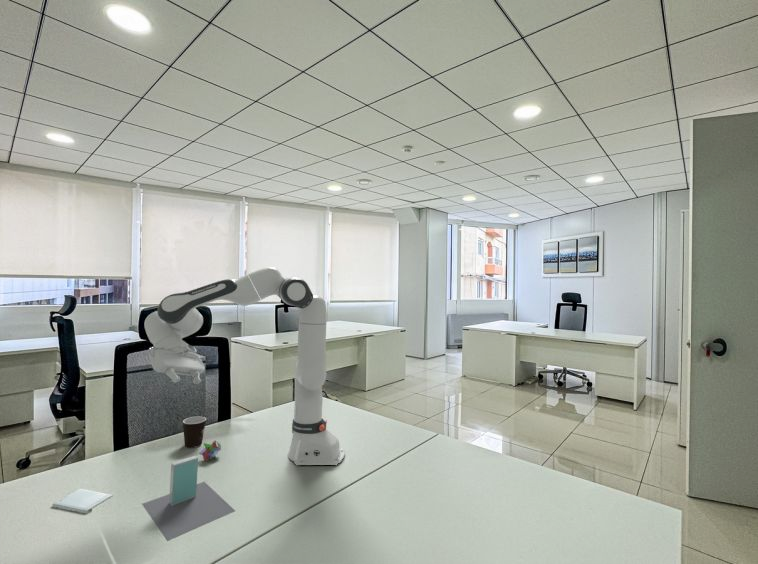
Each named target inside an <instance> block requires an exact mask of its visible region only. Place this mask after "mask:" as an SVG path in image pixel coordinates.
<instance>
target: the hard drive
mask: <svg viewBox="0 0 758 564" xmlns="http://www.w3.org/2000/svg"><path fill="white" fill-rule="evenodd" d="M113 496H114V494H109V493H103V492H100V491H95V490H89V489H84V488H78V489H76V490H75V491H73V492H71V493H69V494H67V495H66V496H63V497H61V498H60V499H58V500H56V501H54V502H53V503H52V506H54V507H53V508H56V507H58V508H57V509H61V508H62V510H66V509H67V511H71V510H72V512H76V511H77V513H82V514H86V515H87V514H89V513H90V512H92V511H93V509H94V508H96V507H97V506H99V505H100V504H102V503H104V502H105V501H107V500H109V499H111V498H112V497H113ZM52 506H51V507H52Z"/></svg>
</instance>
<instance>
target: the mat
mask: <svg viewBox="0 0 758 564" xmlns="http://www.w3.org/2000/svg"><path fill="white" fill-rule="evenodd" d="M169 496H170V493H168V494H166V495H162V496H160V497H157V498H154V499H151V500H149V501H146V502H143V503H142V504H141V505H142V506H143V507H144V509H145V510H146V511H147V514H148V515H149V517H151V519H152V520H153V522H154V523H155V525H156V527H157V528H158V529H159V531H160V532H161V533H162V535H163V537H164V538H165V540H166V541H171V540H173V539H176V538H178V537H179V536H180V537H181V536H182V535H184V534H186V533H189V532H190V531H193V530H196V529H197V528H200V527H202V526H205V525H206V524H210V523H211V522H213V521H215V520H218V519H220V518H223V517H225V516H228V515H229V514H232V513H234V512H236V510H235V509H234V508H233V507H232V506H231V505H230V504H229V503H228V502H227V501H225V499H224V498H223V497H221V496H220V495H219V494H218V493H217V492H216V491H215V490H214V489H213V488H212V487H211V486H210V485H208V483H207V482H206V481H203V482H202V481H201V482H200V483H197V490H196V497H194V498H191V499H189V500H186V501H183V502H181V503H178V504H175V505H173V506H171V505H170V504H169Z"/></svg>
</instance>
